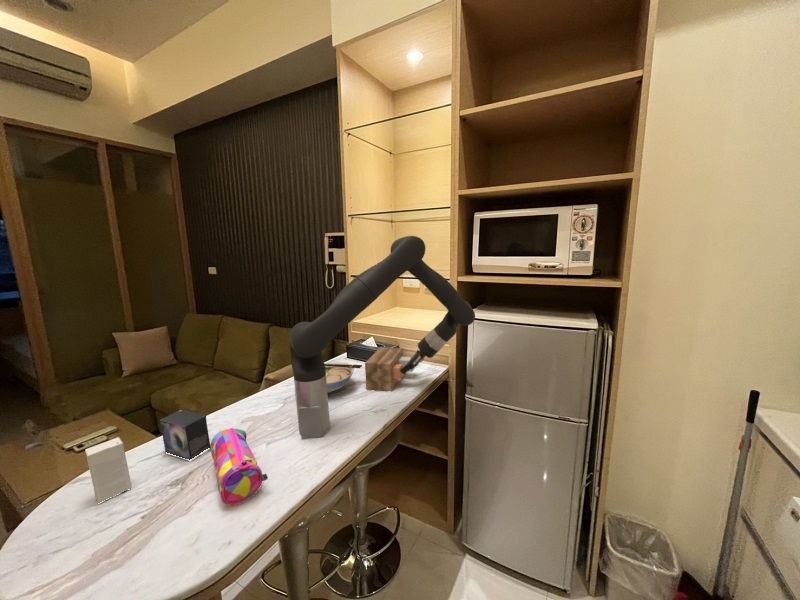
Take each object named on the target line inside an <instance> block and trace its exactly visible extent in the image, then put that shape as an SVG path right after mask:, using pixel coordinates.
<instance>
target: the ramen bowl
mask: <svg viewBox="0 0 800 600" xmlns="http://www.w3.org/2000/svg"><path fill="white" fill-rule="evenodd" d="M324 364H325V368H326V381H327V394H330V393H333V392H334V391H337V390H339V389H341V388H343V387H344V386H345V385H347V383H348V382H349V381H350V379H351V377H352V376H353V373H354V372H355V371H354V370H355V369H361V368H362V367H363V365H362V364H349V363H346V362H339V361H338V362H337V361H333V362H332V361H331V362H330V361H329V362H324Z"/></svg>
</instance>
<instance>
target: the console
mask: <svg viewBox="0 0 800 600" xmlns="http://www.w3.org/2000/svg"><path fill="white" fill-rule="evenodd" d="M399 357H403V348H402V347H398V348H397V347H379V348H378V349H377V350H376V351H375V352H374V353H373V354H372V355H371V357H369V358H368V359H367V360H366V361H365V362H364V370H365V374H364V375H365V388H366V391H372V390H374V391H375V392H387V391H391V392H392V391H393V390H394V388H395V386H396V385H395V384H397V383H398V381H399V380H397V379H392V367H393V365H394V364H398V358H399ZM392 389H393V390H392Z"/></svg>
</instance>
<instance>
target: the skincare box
mask: <svg viewBox="0 0 800 600" xmlns="http://www.w3.org/2000/svg"><path fill="white" fill-rule="evenodd" d="M84 451H85V456H86V459H87V460H86V461H87V465H88V469H89V473H90V477H91V482H92V487H93V491H94V495H95V498H96V502H97V504H98V503H100V502H102V501H104V500H106V499H108V498H110V497H113V496H115V495H117V494H119V493H122V492H124V491H126V490H128V489H130V488H132V489H133V485H132V482H131V476H130V471H129V470H130V469H129V466H128V461H127V457H126V452H125V448H124V442H123V441H122V440H121V438H120V436H119V437H118V436H117V437H115V438H112V439H110V440H107V441H104V442H102V443H101V442H100V443H98V444H95V445H93V446H91V447H89V448H86V449H85V450H84ZM130 490H131V489H130ZM128 491H129V490H128ZM126 492H127V491H126ZM124 493H125V492H124ZM122 494H123V493H122ZM119 495H120V494H119ZM117 496H118V495H117ZM115 497H116V496H115ZM113 498H114V497H113Z"/></svg>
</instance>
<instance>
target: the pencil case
mask: <svg viewBox="0 0 800 600" xmlns="http://www.w3.org/2000/svg"><path fill="white" fill-rule="evenodd" d="M209 451H210V453H211V454H210V455H211V456H212V460H213V463H214V464H213V465H214V470H215V476H216V483H217V488H218V492H219V494H220V498H221V501H222V502H223V503H224V504H225V505H227V506H235V505H238V504H240V503H243V502H245V501H247V500H250V499H251V498H252V497H254V496H255V495H256V494H257V493H258V491H259V490H260V489H261V486H262V483H263V482H265V481H266V480H268V477H269V476H268V475H267V473H264V474H263V472H262V469H261V467H260V466H259V465H258V463H257V460H256V458H255V456H254V453H253V452H252V450H251V448H250V447H249V445H248V442H247V433H246V431H245V430H243V429H239V428H234V427H230V428H228V429H227V428H226V429H222V430H220V431H218V432H217V433H216V434H214V436H213V437H212V439H211V442H210V450H209Z"/></svg>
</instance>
